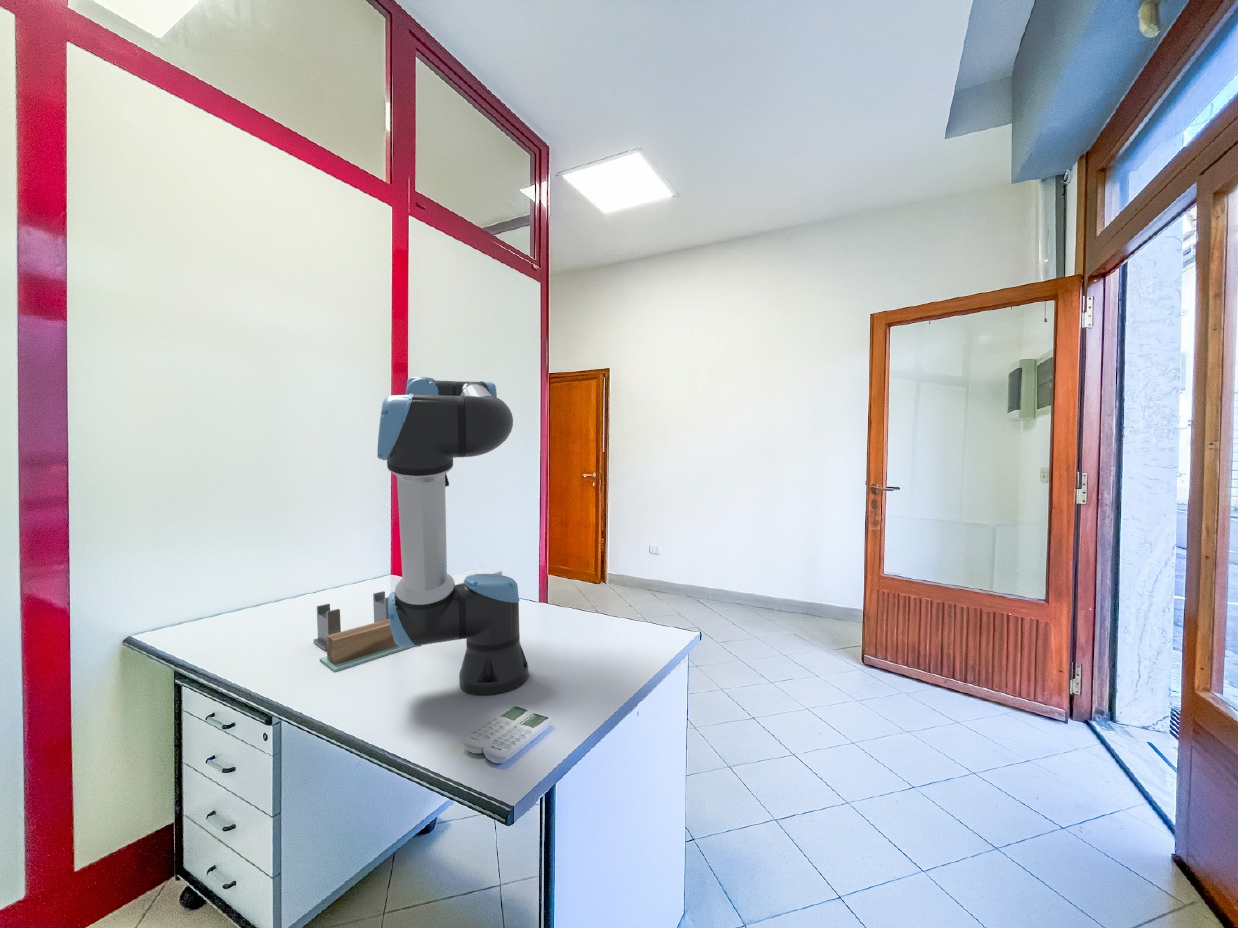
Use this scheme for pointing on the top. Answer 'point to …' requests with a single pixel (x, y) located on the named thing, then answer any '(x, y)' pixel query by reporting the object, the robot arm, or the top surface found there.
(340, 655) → the rail
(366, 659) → the mat
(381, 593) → the standards
